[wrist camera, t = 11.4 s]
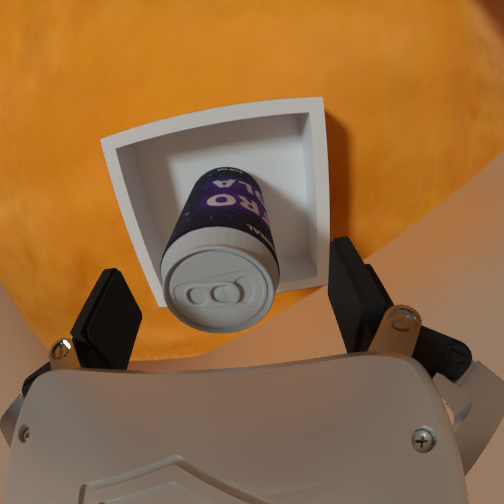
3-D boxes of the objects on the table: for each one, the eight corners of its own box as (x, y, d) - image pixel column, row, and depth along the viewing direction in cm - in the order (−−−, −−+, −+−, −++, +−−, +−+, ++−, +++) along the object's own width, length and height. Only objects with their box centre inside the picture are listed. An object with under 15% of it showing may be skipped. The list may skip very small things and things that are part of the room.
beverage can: (264, 225, 23) (284, 333, 13) (198, 232, 23) (172, 341, 13) (259, 160, 20) (282, 231, 10) (186, 169, 20) (136, 246, 10)
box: (307, 97, 18) (322, 97, 15) (317, 259, 26) (328, 284, 23) (121, 131, 19) (100, 139, 15) (167, 280, 27) (159, 307, 23)
